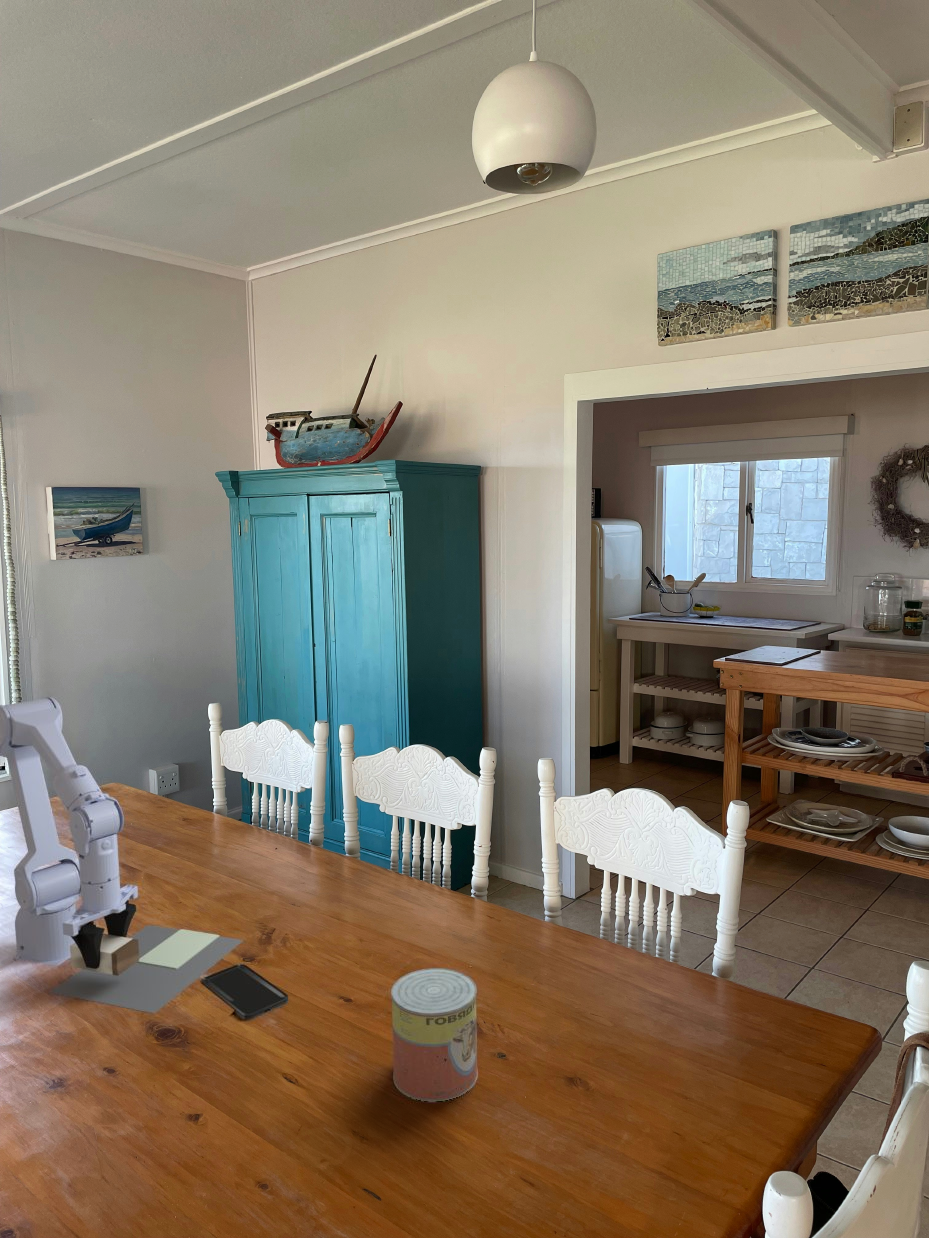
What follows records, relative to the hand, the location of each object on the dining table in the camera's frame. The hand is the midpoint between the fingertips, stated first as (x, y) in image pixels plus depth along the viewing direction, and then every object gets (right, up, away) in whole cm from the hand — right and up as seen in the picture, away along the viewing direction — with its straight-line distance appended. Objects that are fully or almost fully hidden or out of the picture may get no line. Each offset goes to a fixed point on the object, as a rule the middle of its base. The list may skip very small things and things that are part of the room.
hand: (105, 958), depth 141 cm
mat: (+5, -4, +6) cm, 9 cm away
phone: (+23, -5, -2) cm, 23 cm away
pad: (+8, -3, +11) cm, 14 cm away
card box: (0, -1, 0) cm, 1 cm away
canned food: (+53, -7, -23) cm, 59 cm away
